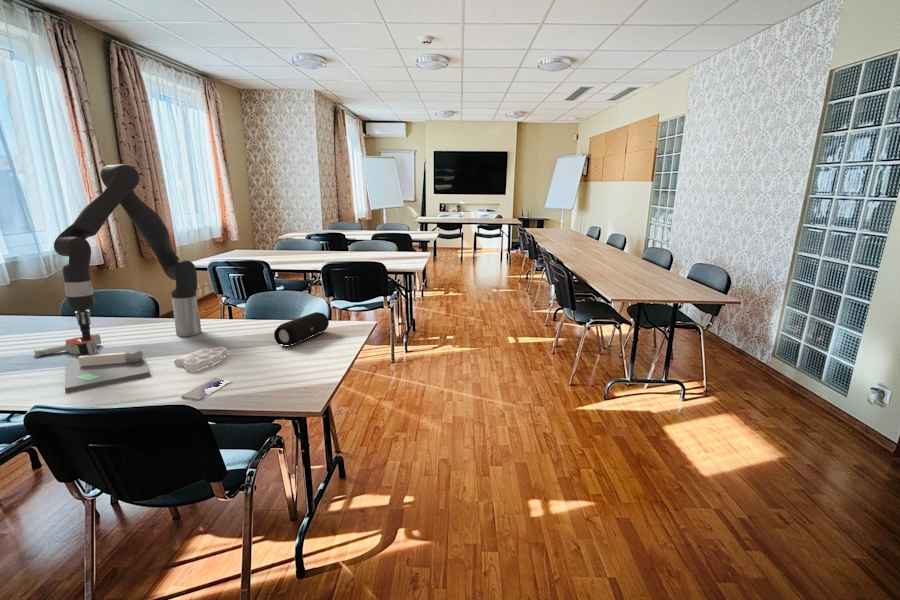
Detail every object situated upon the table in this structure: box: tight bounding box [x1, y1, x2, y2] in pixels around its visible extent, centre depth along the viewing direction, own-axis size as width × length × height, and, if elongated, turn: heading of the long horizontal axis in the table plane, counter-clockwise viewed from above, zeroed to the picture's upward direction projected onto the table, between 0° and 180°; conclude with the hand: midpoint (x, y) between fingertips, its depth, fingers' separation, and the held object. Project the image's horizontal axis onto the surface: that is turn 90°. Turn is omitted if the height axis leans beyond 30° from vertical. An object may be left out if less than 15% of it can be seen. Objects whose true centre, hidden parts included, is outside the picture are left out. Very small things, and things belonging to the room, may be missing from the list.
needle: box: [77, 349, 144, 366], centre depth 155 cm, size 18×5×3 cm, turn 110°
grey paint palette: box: [173, 346, 228, 372], centre depth 163 cm, size 3×18×15 cm
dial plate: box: [64, 349, 151, 394], centre depth 153 cm, size 22×28×2 cm
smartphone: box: [180, 377, 224, 401], centre depth 141 cm, size 7×1×15 cm
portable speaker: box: [273, 311, 330, 345], centre depth 190 cm, size 26×10×10 cm, turn 158°
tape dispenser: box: [33, 333, 102, 358], centre depth 170 cm, size 18×5×20 cm
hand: (87, 340), depth 157 cm, fingers closed
